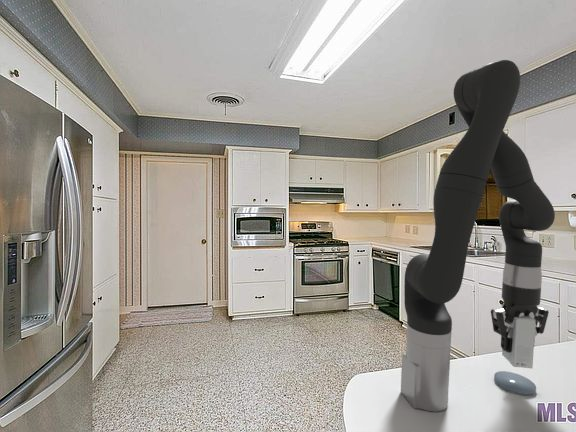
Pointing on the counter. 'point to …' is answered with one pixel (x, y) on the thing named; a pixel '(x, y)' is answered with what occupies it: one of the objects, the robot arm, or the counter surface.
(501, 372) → the slate dish
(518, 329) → the skincare box
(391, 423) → the counter surface
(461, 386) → the counter surface
